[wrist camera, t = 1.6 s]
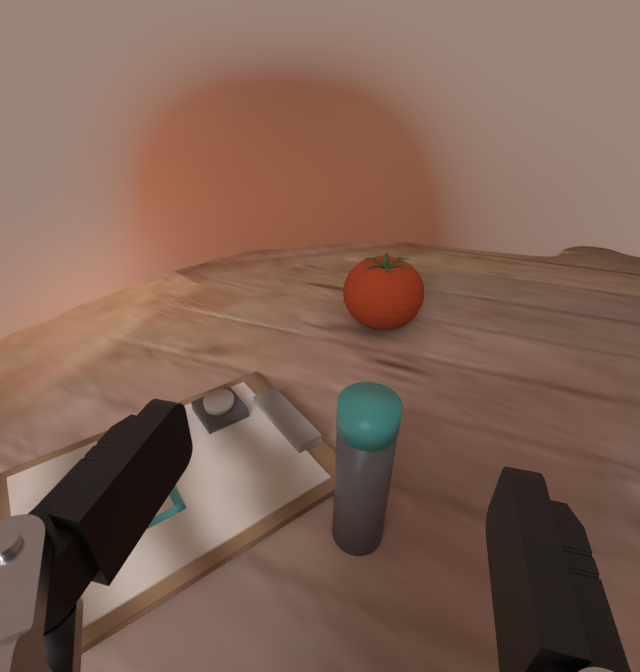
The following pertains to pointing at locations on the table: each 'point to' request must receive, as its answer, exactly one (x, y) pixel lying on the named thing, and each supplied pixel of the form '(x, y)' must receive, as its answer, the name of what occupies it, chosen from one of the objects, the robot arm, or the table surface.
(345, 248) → the table surface
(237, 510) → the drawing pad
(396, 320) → the tomato
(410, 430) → the table surface
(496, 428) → the table surface
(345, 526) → the marker
